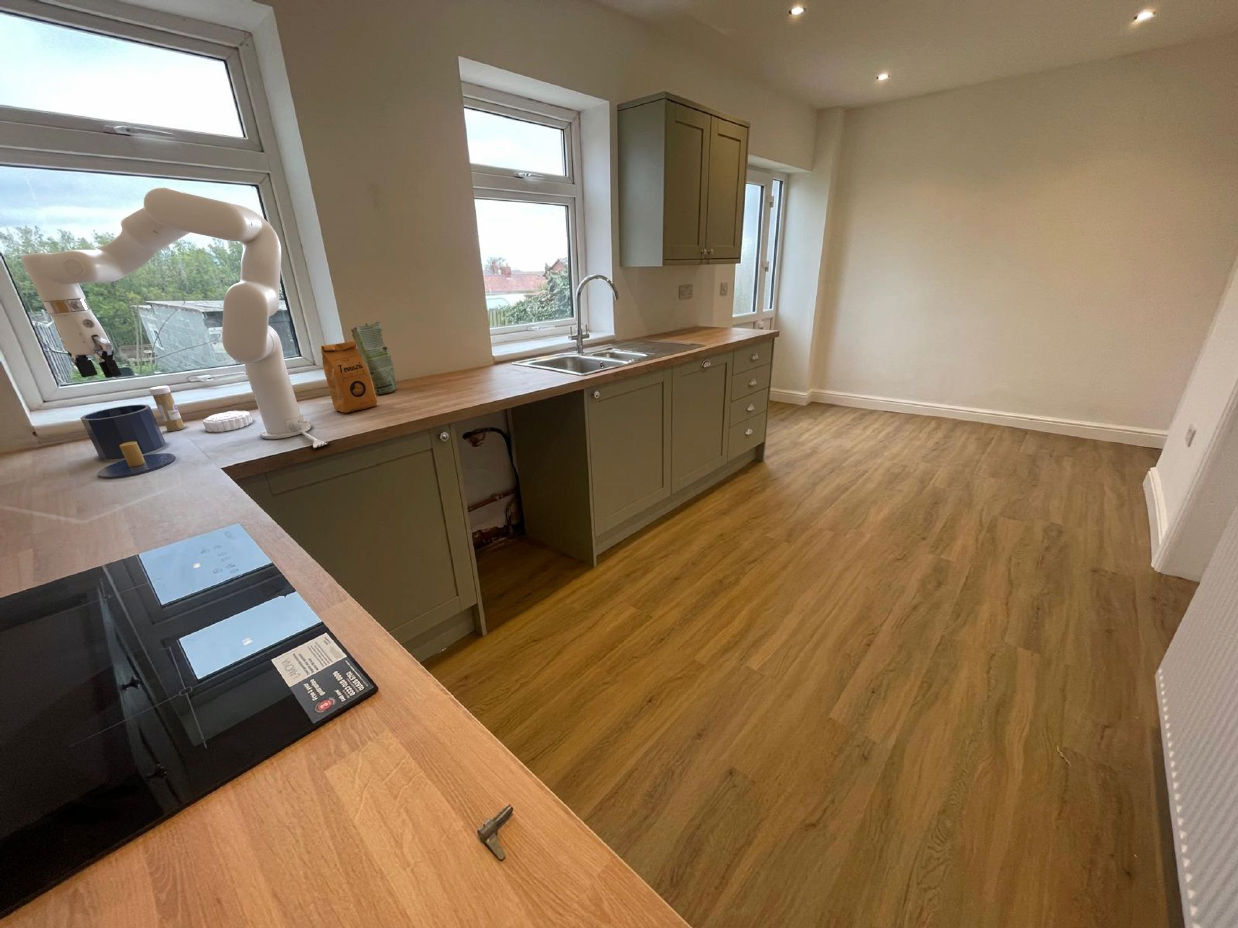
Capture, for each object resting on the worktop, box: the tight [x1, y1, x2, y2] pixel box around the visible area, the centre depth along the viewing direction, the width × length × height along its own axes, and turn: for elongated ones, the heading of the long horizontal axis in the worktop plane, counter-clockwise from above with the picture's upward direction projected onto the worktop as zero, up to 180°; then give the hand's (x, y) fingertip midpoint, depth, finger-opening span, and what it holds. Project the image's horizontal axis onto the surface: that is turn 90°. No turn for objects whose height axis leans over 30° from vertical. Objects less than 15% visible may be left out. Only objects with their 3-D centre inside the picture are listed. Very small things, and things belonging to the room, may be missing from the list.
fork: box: [301, 431, 329, 449], centre depth 139 cm, size 3×20×2 cm, turn 45°
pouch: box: [350, 321, 398, 395], centre depth 183 cm, size 11×12×25 cm
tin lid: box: [97, 442, 176, 480], centre depth 125 cm, size 15×15×7 cm
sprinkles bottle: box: [149, 385, 186, 432], centre depth 153 cm, size 5×5×13 cm
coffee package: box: [320, 339, 378, 413], centre depth 163 cm, size 10×12×22 cm
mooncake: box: [202, 410, 253, 433], centre depth 155 cm, size 12×12×4 cm
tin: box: [79, 404, 167, 461], centre depth 135 cm, size 14×14×12 cm
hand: (102, 376), depth 129 cm, fingers open, 9 cm apart
